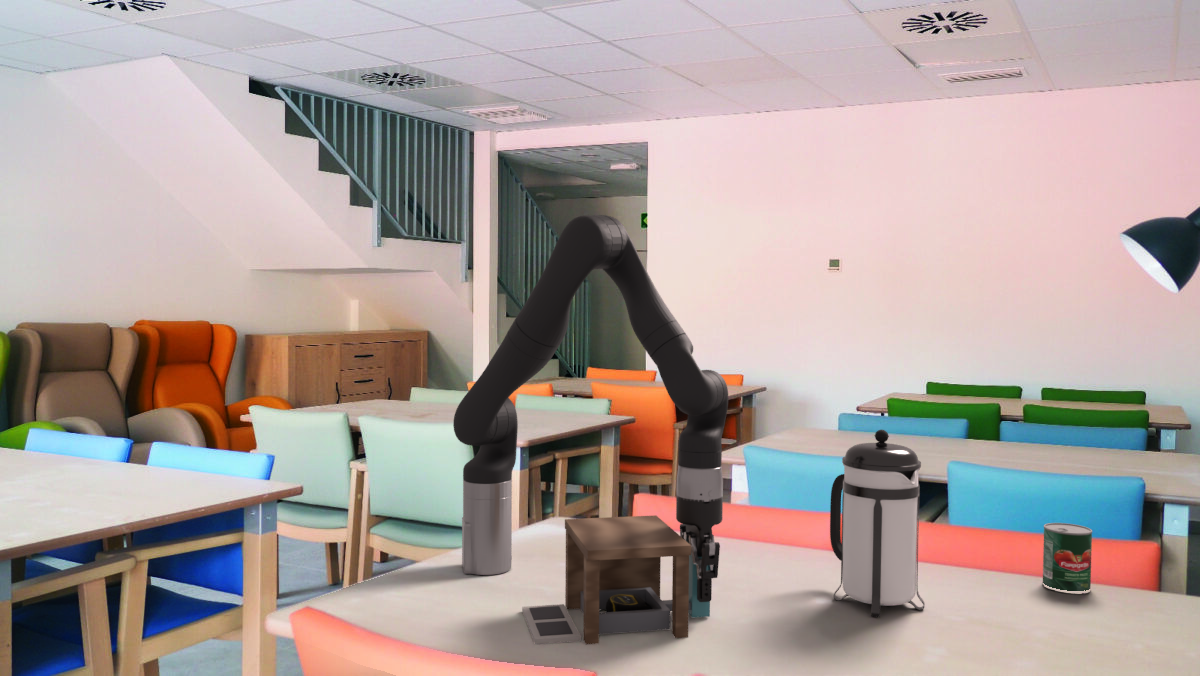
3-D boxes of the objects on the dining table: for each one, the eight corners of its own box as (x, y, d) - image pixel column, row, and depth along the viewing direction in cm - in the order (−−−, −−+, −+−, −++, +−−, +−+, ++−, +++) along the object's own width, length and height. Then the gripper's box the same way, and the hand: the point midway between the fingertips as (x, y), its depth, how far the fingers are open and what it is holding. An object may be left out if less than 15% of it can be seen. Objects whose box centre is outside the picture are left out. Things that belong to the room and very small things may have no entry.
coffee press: (929, 596, 165) (933, 426, 163) (919, 624, 150) (923, 438, 149) (829, 583, 172) (832, 420, 171) (810, 608, 157) (813, 431, 156)
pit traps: (534, 644, 140) (534, 638, 140) (522, 611, 155) (522, 606, 155) (580, 641, 142) (580, 635, 142) (563, 608, 156) (564, 603, 156)
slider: (594, 634, 144) (595, 570, 143) (580, 609, 156) (580, 549, 155) (718, 626, 148) (719, 563, 148) (695, 601, 160) (696, 543, 159)
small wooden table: (587, 646, 139) (587, 550, 139) (564, 603, 159) (564, 519, 158) (690, 639, 143) (691, 545, 142) (655, 598, 162) (656, 515, 162)
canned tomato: (1062, 579, 175) (1063, 520, 175) (1100, 591, 168) (1102, 530, 168) (1032, 584, 172) (1034, 525, 171) (1070, 597, 165) (1072, 535, 164)
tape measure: (654, 627, 149) (654, 603, 149) (613, 631, 147) (614, 607, 146) (639, 613, 155) (639, 590, 155) (600, 617, 153) (600, 594, 153)
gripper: (665, 485, 159) (664, 583, 160) (690, 503, 145) (689, 611, 146) (707, 483, 160) (706, 581, 161) (736, 501, 146) (735, 608, 147)
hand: (698, 594), depth 153 cm, fingers open, 5 cm apart
